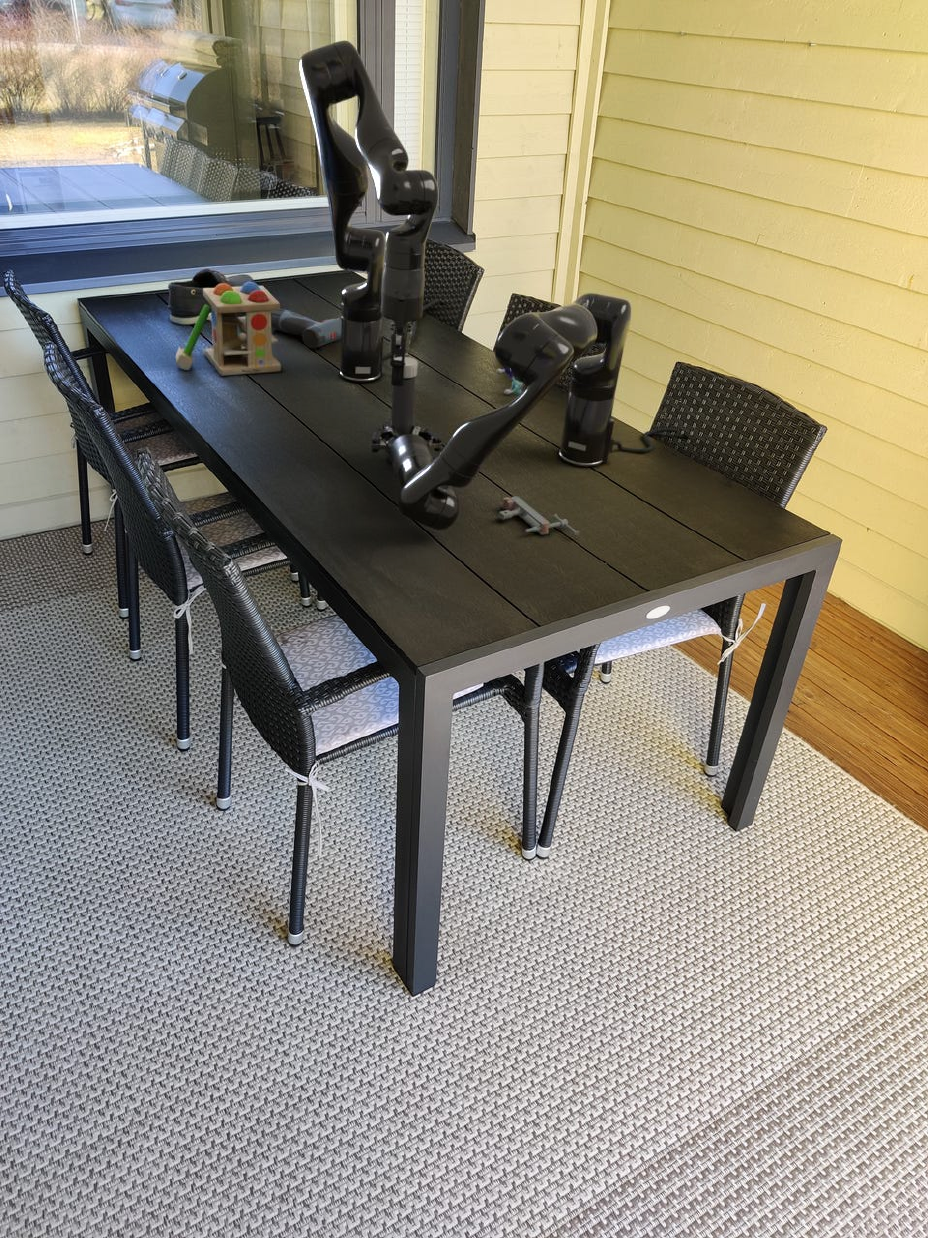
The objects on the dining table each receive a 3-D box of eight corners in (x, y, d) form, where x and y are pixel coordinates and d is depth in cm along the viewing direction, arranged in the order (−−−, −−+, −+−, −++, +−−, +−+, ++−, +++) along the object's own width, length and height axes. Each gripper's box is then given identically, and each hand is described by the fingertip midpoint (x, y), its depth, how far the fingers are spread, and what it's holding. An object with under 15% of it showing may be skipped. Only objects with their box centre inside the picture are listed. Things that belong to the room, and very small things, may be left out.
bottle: (387, 456, 197) (391, 361, 186) (408, 455, 198) (413, 361, 187) (391, 465, 194) (396, 369, 182) (412, 464, 195) (417, 369, 184)
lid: (402, 366, 188) (403, 354, 187) (422, 373, 186) (423, 361, 185) (386, 372, 185) (386, 360, 184) (406, 380, 183) (406, 367, 181)
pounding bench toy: (183, 379, 220) (176, 299, 210) (169, 357, 231) (162, 280, 221) (282, 371, 230) (280, 294, 220) (264, 350, 240) (262, 276, 230)
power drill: (305, 316, 264) (364, 334, 256) (257, 332, 251) (318, 351, 243) (305, 296, 261) (365, 314, 253) (257, 311, 248) (318, 330, 240)
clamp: (489, 500, 180) (534, 491, 184) (488, 510, 181) (533, 501, 185) (534, 538, 169) (581, 528, 174) (532, 549, 170) (579, 539, 175)
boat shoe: (275, 303, 273) (273, 264, 267) (188, 326, 249) (184, 284, 244) (241, 294, 279) (238, 256, 273) (152, 317, 255) (147, 276, 249)
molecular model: (542, 396, 221) (528, 352, 219) (504, 410, 224) (490, 367, 223) (554, 394, 231) (541, 353, 230) (517, 407, 235) (504, 367, 233)
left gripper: (385, 276, 182) (382, 362, 192) (378, 300, 170) (375, 390, 180) (426, 280, 182) (420, 366, 192) (421, 304, 171) (416, 393, 180)
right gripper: (452, 443, 180) (435, 406, 194) (375, 443, 177) (363, 406, 191) (449, 479, 184) (433, 441, 198) (374, 481, 181) (362, 442, 195)
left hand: (398, 377), depth 186 cm, fingers open, 7 cm apart
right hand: (399, 424), depth 194 cm, fingers closed on bottle, 4 cm apart
